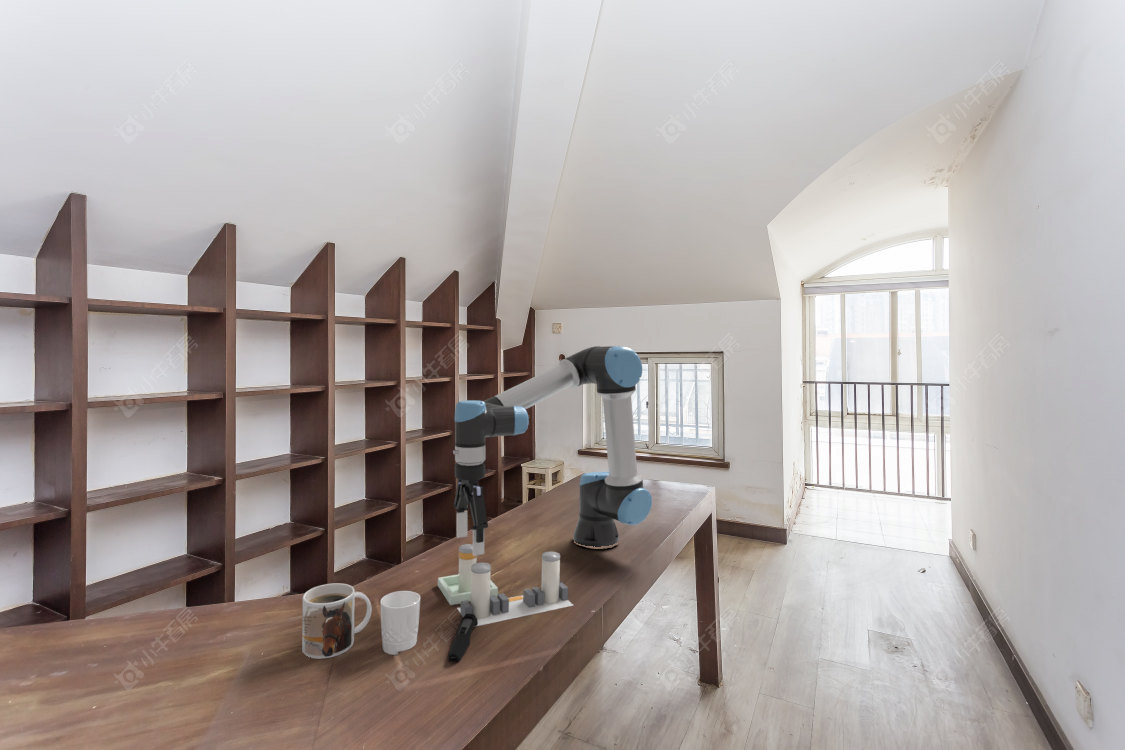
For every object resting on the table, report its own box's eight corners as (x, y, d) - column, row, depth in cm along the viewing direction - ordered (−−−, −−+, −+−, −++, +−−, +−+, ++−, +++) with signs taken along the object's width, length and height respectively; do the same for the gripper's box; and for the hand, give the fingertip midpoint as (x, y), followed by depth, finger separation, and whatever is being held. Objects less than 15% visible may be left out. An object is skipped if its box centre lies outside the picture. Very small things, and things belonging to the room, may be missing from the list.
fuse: (486, 607, 127) (487, 561, 127) (492, 616, 123) (493, 568, 123) (467, 611, 125) (468, 564, 125) (473, 620, 121) (474, 571, 121)
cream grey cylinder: (553, 594, 136) (555, 550, 135) (562, 601, 132) (563, 556, 131) (537, 597, 134) (539, 553, 133) (545, 605, 130) (546, 559, 129)
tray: (482, 580, 144) (482, 570, 144) (497, 599, 134) (498, 588, 134) (437, 588, 139) (437, 577, 139) (450, 608, 128) (450, 596, 128)
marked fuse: (472, 585, 139) (473, 543, 139) (478, 592, 135) (479, 548, 135) (455, 588, 137) (456, 545, 137) (460, 595, 133) (461, 551, 133)
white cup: (389, 661, 106) (390, 611, 105) (373, 644, 111) (374, 597, 111) (426, 648, 111) (427, 600, 110) (409, 632, 117) (410, 587, 116)
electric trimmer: (442, 668, 104) (442, 652, 104) (462, 622, 120) (462, 609, 119) (461, 669, 104) (462, 654, 104) (478, 623, 119) (479, 610, 119)
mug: (318, 630, 116) (318, 580, 116) (373, 633, 116) (373, 582, 116) (292, 658, 106) (293, 602, 105) (352, 660, 105) (353, 605, 105)
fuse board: (555, 591, 139) (555, 577, 139) (574, 608, 130) (574, 593, 130) (456, 611, 127) (456, 595, 127) (469, 631, 118) (469, 614, 118)
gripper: (442, 454, 144) (442, 532, 145) (470, 474, 122) (470, 565, 123) (469, 452, 148) (469, 528, 149) (501, 471, 126) (501, 560, 127)
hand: (469, 545), depth 136 cm, fingers open, 13 cm apart
